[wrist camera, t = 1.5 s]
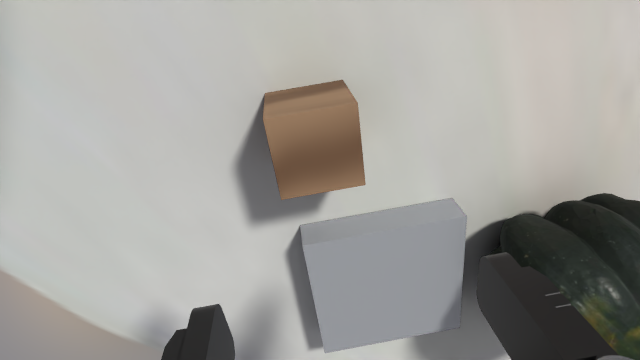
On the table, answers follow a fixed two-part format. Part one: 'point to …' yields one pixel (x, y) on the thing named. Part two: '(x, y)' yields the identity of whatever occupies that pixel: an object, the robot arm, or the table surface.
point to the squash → (587, 261)
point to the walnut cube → (314, 139)
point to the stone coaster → (386, 273)
